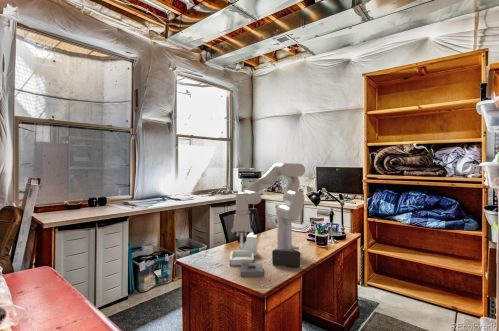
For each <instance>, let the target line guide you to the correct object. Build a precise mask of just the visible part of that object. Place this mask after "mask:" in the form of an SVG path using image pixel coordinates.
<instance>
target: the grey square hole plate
mask: <svg viewBox="0 0 499 331" xmlns="http://www.w3.org/2000/svg"><path fill="white" fill-rule="evenodd" d="M263 265H264V264H263V262H254V263H241V265H240V277H264V267H263Z"/></svg>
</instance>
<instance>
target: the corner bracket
mask: <svg viewBox="0 0 499 331" xmlns="http://www.w3.org/2000/svg"><path fill="white" fill-rule="evenodd" d="M239 251H253V256H257V254H258V235H257V234H255V233H254V232H251V233H249V234H248V235H247V236H246V241H245V243H244V249H239Z"/></svg>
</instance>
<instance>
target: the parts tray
mask: <svg viewBox="0 0 499 331" xmlns="http://www.w3.org/2000/svg"><path fill="white" fill-rule="evenodd" d="M254 258H255V257H254V255H253V251H240V250H231V252H230V255H229V266H241V263H255V262H254Z"/></svg>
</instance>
